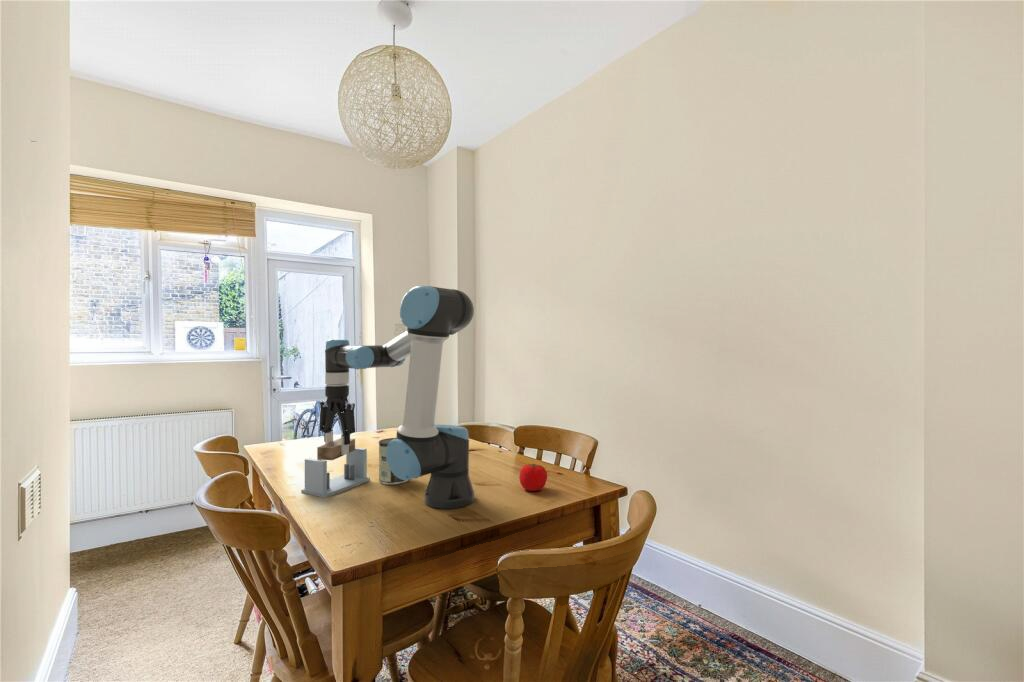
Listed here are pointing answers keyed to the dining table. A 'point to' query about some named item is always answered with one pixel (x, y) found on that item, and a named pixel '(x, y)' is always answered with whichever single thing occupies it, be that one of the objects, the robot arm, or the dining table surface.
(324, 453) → the shelf board
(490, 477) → the dining table surface
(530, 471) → the tomato
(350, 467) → the peg cradle
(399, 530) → the dining table surface
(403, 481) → the coffee can
